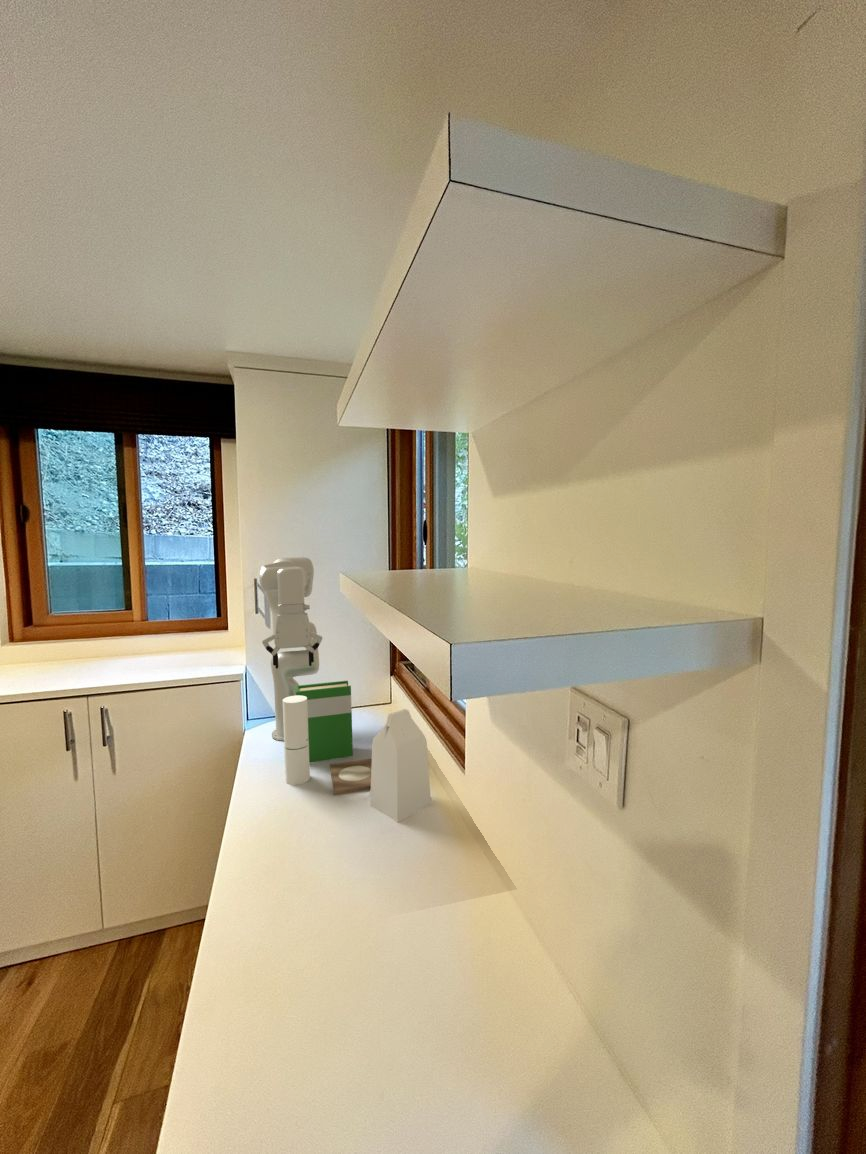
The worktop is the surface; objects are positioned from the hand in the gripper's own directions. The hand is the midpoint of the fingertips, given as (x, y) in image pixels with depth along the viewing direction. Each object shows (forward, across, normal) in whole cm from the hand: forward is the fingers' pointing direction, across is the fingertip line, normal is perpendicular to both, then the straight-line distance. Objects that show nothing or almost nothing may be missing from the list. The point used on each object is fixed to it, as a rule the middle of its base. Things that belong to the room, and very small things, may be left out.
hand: (293, 666), depth 148 cm
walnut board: (+35, -17, +3) cm, 39 cm away
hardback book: (+35, -9, -16) cm, 40 cm away
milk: (+36, -27, +23) cm, 50 cm away
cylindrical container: (+35, 0, -1) cm, 35 cm away
